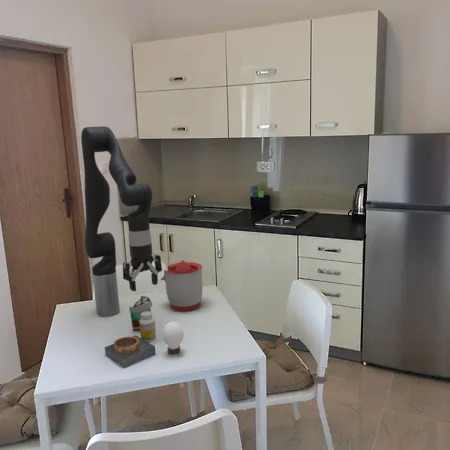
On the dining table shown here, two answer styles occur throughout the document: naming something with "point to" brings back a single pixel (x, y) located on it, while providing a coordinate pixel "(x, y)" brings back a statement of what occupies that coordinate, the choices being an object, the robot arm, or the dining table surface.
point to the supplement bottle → (147, 326)
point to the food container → (139, 311)
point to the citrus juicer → (183, 285)
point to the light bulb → (173, 337)
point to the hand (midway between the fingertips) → (144, 287)
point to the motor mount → (129, 350)
